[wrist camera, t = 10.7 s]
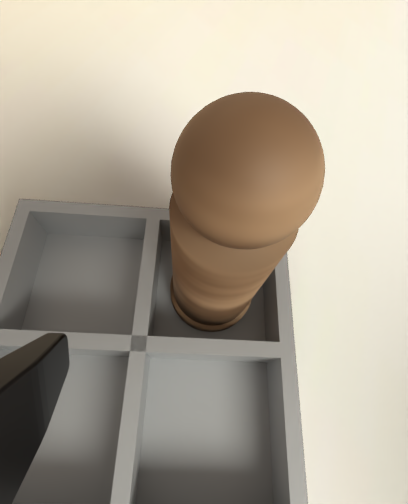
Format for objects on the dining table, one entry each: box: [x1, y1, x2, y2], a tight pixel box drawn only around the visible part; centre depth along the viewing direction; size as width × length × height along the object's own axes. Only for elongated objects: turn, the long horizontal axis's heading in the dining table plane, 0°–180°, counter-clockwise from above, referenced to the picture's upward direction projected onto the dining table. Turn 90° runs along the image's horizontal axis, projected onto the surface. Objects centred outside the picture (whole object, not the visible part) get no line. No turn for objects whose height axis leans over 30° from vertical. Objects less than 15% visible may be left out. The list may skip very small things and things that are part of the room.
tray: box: [0, 199, 308, 504], centre depth 16 cm, size 24×16×4 cm
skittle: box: [169, 92, 325, 332], centre depth 14 cm, size 5×5×14 cm
